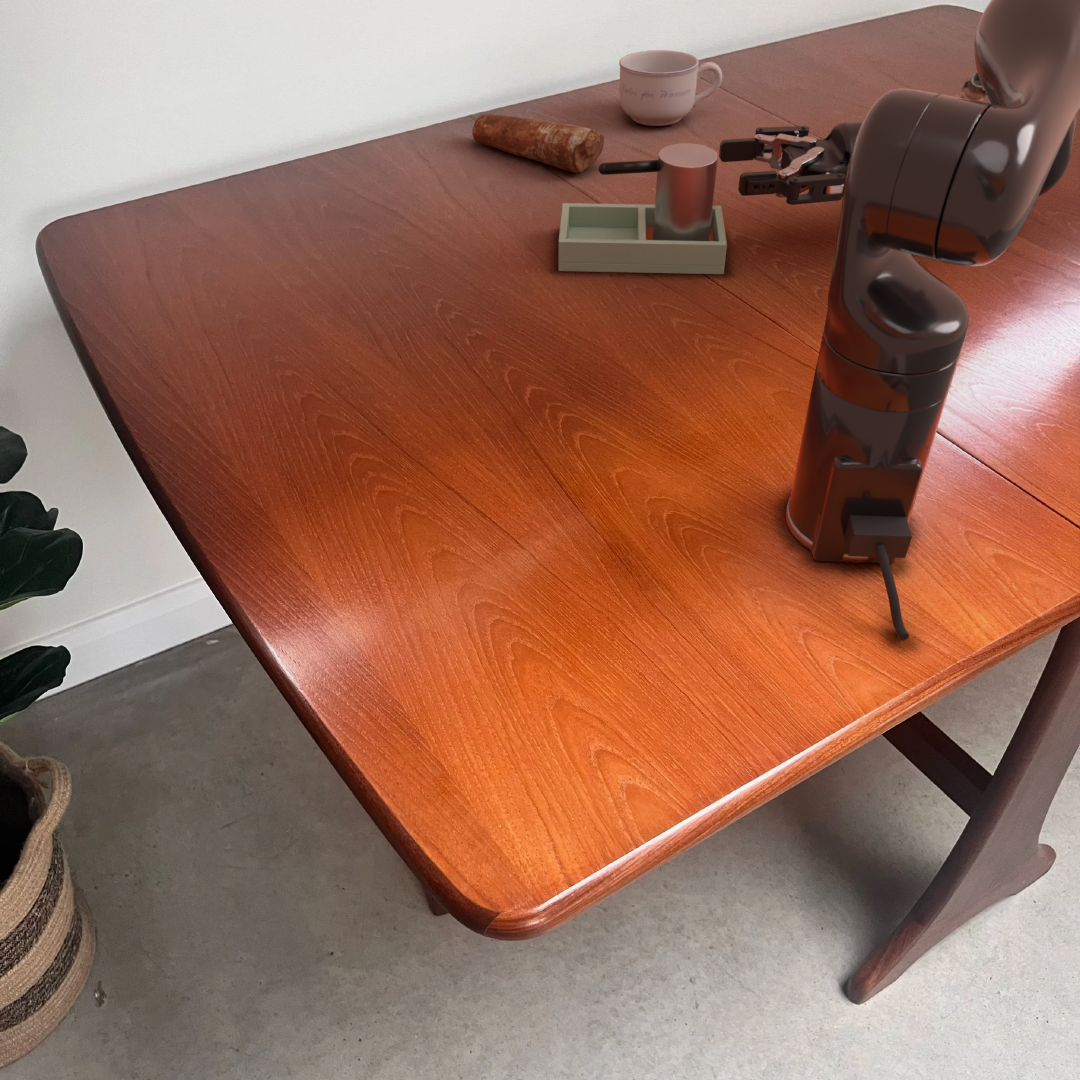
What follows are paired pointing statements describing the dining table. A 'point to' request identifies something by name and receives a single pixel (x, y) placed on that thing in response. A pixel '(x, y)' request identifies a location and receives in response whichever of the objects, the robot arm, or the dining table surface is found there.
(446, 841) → the dining table surface
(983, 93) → the vase
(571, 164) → the bread
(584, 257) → the divided box
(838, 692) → the dining table surface
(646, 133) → the dining table surface
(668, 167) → the handled metal cylinder
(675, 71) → the teacup
